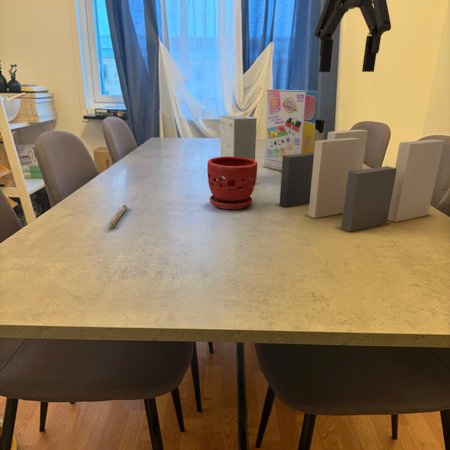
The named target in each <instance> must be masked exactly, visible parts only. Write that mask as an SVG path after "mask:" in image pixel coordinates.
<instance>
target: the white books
mask: <svg viewBox="0 0 450 450" xmlns="http://www.w3.org/2000/svg"><path fill="white" fill-rule="evenodd" d="M368 133H369V130H366V129H350V130H349V129H348V130H336V131H328V132H327V139H326V140H331V139H343V138H358V139H360V143H359V150H358V158H357V165H356V170H362V169H364V160H365V153H366V147H367V146H366V145H367V139H368ZM444 144H445V140H442V139H436V138H435V139H434V138H432V139H422V140H411V141H402V142H399V145H398V150H397V156H396V161H395V166H394V168H397V171H396V176H395V182H394V187H393V193H392V198H391V204H390V209H389V215H388V220H387V221H392V222H394V223H398V222H401V221H407V220H411V219H416V218H421V217H426V216H428V215H429V212H430V207H431V203H432V198H433V193H434V189H435V185H436V180H437V177H438V172H439V168H440V162H441V158H442V155H443V150H444Z"/></svg>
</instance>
